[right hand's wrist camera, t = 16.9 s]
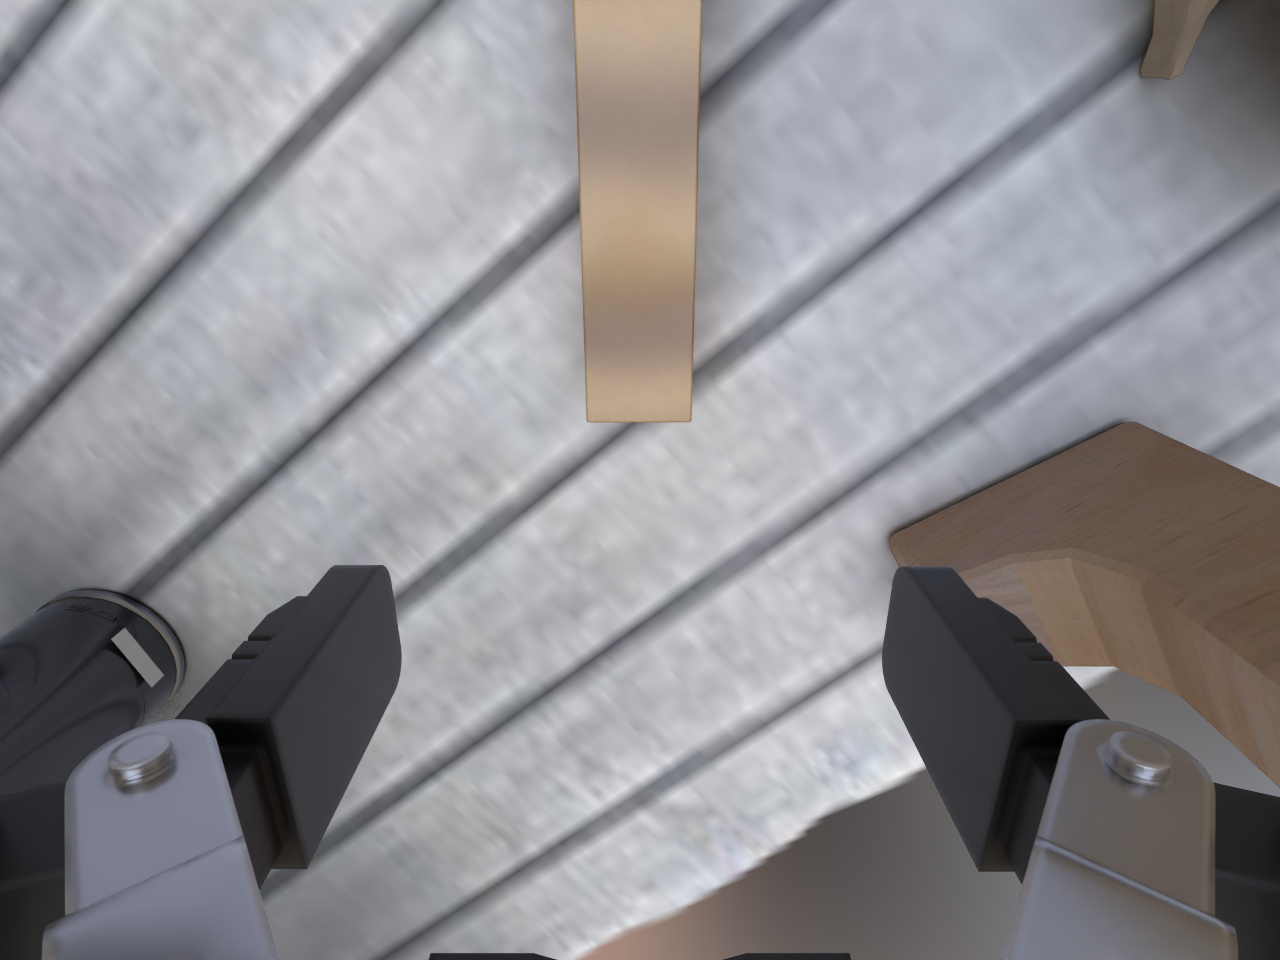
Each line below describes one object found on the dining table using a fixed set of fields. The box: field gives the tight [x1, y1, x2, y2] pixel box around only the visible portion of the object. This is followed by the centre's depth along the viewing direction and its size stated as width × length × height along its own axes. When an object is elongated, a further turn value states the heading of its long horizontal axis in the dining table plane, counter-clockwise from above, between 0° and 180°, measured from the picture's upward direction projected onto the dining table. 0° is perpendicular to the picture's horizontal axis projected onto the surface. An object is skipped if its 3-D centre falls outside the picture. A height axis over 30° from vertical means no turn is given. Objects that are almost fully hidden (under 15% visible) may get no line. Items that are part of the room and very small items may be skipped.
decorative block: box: [890, 422, 1280, 788], centre depth 28 cm, size 8×15×30 cm, turn 120°
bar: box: [573, 0, 702, 422], centre depth 31 cm, size 24×5×8 cm, turn 0°
